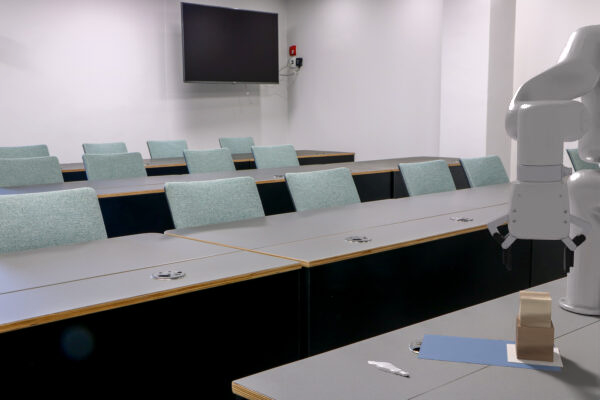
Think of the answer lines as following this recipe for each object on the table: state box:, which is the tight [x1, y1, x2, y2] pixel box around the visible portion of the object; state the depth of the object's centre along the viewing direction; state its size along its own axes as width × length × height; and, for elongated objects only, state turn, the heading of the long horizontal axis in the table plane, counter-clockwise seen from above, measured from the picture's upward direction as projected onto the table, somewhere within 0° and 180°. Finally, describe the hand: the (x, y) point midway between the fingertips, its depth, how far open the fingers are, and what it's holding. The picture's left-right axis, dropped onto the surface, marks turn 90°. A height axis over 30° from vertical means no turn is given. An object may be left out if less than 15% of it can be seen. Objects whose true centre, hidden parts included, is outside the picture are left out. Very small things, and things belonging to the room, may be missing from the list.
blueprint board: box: [417, 333, 564, 372], centre depth 115 cm, size 24×13×1 cm, turn 73°
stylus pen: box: [367, 360, 410, 377], centre depth 110 cm, size 15×3×2 cm, turn 40°
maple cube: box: [518, 290, 553, 328], centre depth 112 cm, size 5×5×5 cm
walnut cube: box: [515, 315, 555, 362], centre depth 113 cm, size 6×6×6 cm
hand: (537, 269), depth 111 cm, fingers open, 9 cm apart
